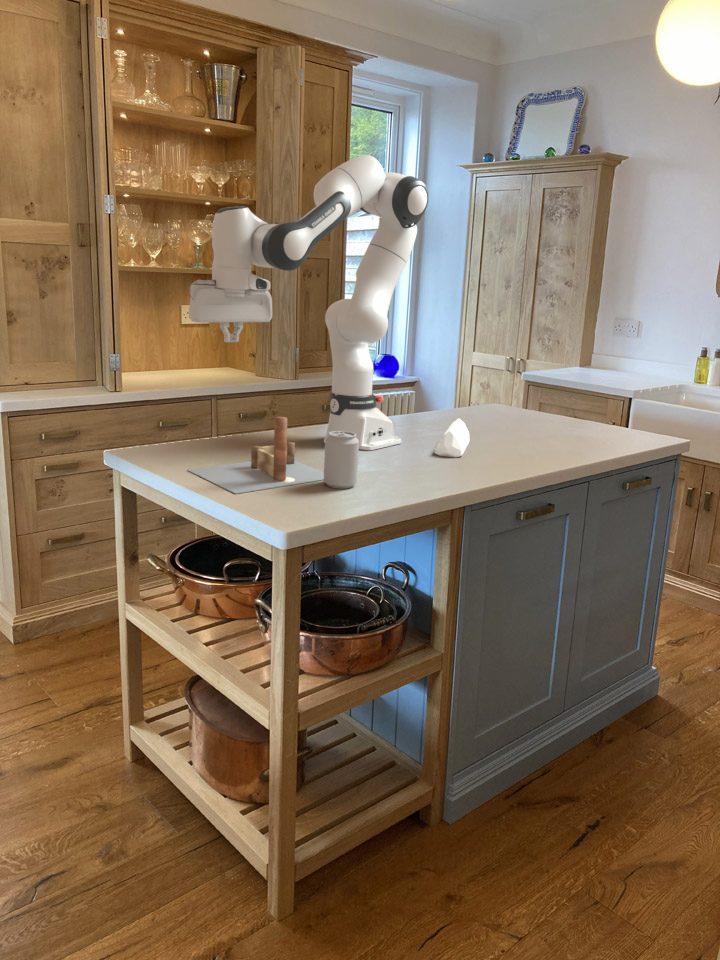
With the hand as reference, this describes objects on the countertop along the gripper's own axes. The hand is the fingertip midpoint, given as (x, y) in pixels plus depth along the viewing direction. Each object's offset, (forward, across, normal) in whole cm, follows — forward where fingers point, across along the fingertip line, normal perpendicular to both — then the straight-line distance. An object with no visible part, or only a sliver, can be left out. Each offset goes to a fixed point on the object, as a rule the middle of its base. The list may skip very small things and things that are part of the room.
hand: (231, 342), depth 180 cm
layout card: (+29, +1, -12) cm, 31 cm away
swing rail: (+29, +2, -14) cm, 32 cm away
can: (+29, +12, -28) cm, 42 cm away
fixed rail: (+29, +8, -7) cm, 31 cm away
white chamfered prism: (+30, +63, -14) cm, 71 cm away
